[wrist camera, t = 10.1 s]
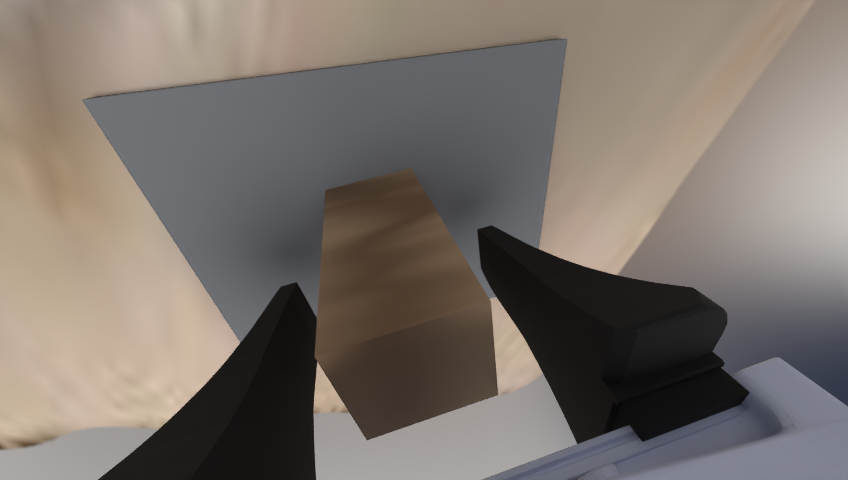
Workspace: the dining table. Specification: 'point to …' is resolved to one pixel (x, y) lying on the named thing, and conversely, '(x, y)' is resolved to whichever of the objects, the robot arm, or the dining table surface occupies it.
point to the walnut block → (399, 308)
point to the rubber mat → (337, 158)
